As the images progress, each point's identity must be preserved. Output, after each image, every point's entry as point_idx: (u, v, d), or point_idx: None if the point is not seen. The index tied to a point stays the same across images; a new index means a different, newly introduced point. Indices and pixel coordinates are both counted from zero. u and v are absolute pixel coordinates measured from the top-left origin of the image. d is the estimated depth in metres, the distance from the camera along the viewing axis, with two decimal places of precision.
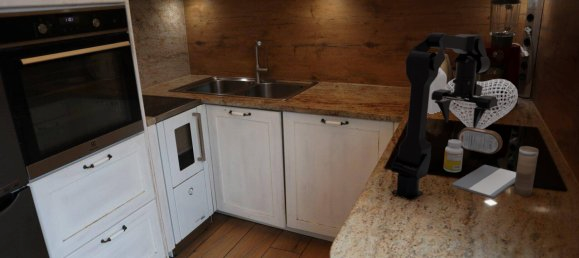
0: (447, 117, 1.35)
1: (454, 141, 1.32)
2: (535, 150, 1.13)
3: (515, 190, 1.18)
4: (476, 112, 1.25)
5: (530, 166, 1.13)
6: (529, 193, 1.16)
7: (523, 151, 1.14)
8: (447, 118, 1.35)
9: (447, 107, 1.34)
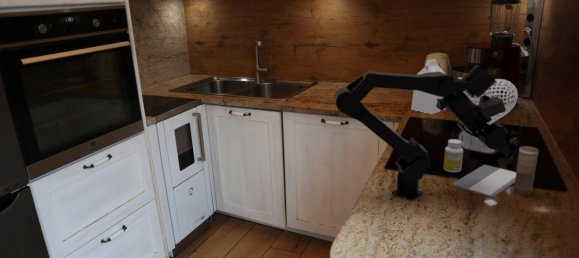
0: None
1: (454, 141, 1.32)
2: (535, 150, 1.13)
3: (515, 190, 1.18)
4: None
5: (530, 166, 1.13)
6: (529, 193, 1.16)
7: (523, 151, 1.14)
8: None
9: (480, 130, 1.18)
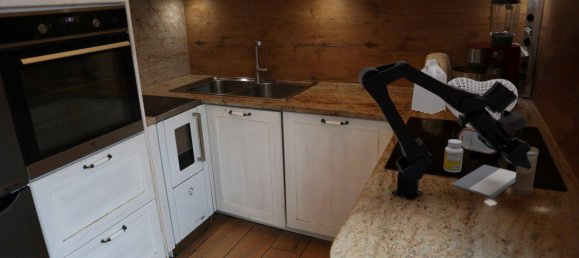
0: None
1: (454, 141, 1.32)
2: (535, 150, 1.13)
3: (515, 190, 1.18)
4: None
5: None
6: (529, 193, 1.16)
7: None
8: None
9: None
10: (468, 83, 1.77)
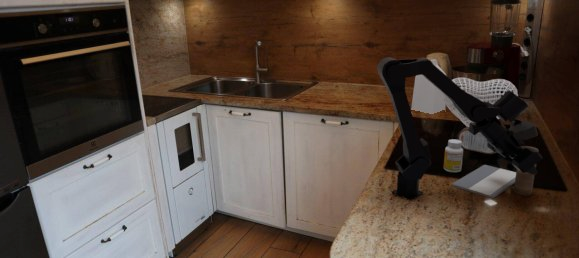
0: None
1: (454, 141, 1.32)
2: None
3: (515, 190, 1.18)
4: None
5: None
6: (529, 193, 1.16)
7: None
8: None
9: (515, 155, 1.18)
10: (468, 83, 1.77)
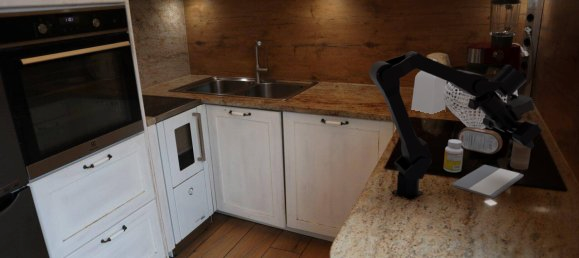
0: None
1: (454, 141, 1.32)
2: None
3: (512, 165, 1.19)
4: None
5: None
6: (526, 167, 1.18)
7: None
8: None
9: None
10: None
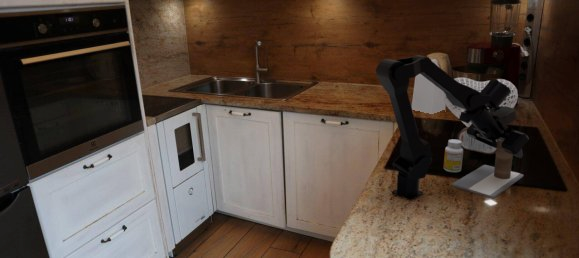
0: (495, 144, 1.29)
1: (454, 141, 1.32)
2: None
3: (496, 175, 1.26)
4: None
5: None
6: (509, 176, 1.25)
7: None
8: (495, 145, 1.29)
9: None
10: (468, 83, 1.77)
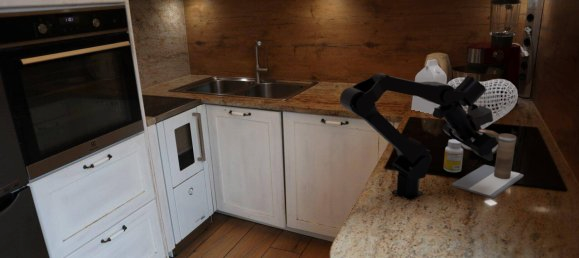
0: (469, 144, 1.26)
1: (454, 141, 1.32)
2: (514, 136, 1.23)
3: (497, 175, 1.26)
4: None
5: (510, 151, 1.23)
6: (509, 176, 1.26)
7: (504, 138, 1.22)
8: (470, 144, 1.26)
9: None
10: None
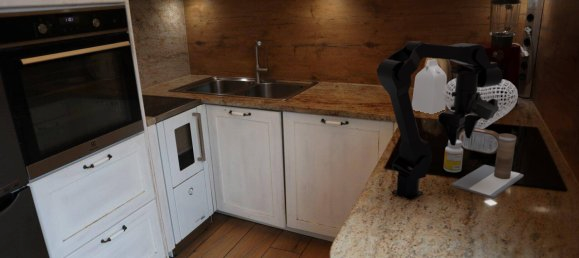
0: (467, 133, 1.24)
1: None
2: (514, 136, 1.23)
3: (497, 175, 1.26)
4: None
5: (510, 151, 1.23)
6: (509, 176, 1.26)
7: (504, 138, 1.22)
8: (467, 134, 1.24)
9: (470, 122, 1.23)
10: None
